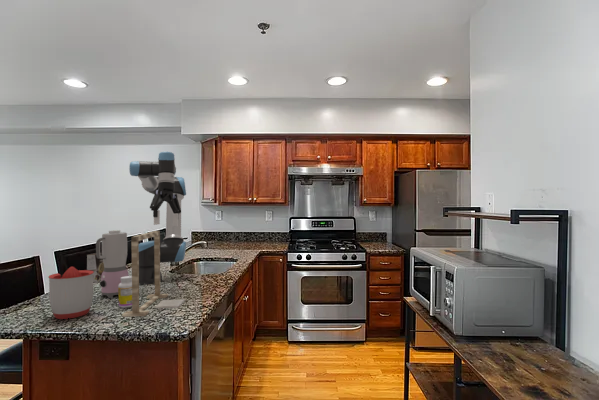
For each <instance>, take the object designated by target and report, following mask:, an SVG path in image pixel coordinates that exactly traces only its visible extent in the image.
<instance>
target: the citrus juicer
mask: <svg viewBox="0 0 599 400" xmlns="http://www.w3.org/2000/svg"><path fill="white" fill-rule="evenodd" d="M93 273H94V271H90V270H87V269H84V270H80V269H79V270H78V269H77V268H76V267H75V266H70V267H69V268H67V269H66V270H65V272H64V273H63V274H62V275H61V274H60V273H58V272H56V273H52V274H50V275H49V276H48V284H49V285H48V286H49V289H48V291H49V293H48V294H49V306H50V309H51V312H52V314H53V317H54V318H55V319H59V320H63V319H66V320H69V319H74V318H78V317H82V316H87V314H88V313H90V310H91V308H92V303H93V300H94V299H93V298H94V282H93ZM68 318H69V319H68Z"/></svg>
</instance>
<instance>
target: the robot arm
mask: <svg viewBox="0 0 599 400" xmlns="http://www.w3.org/2000/svg"><path fill="white" fill-rule="evenodd" d="M175 159H176V158H175V153H174V152H171V151H160V152H159V153H158V161H140V160H137V161H136V160H135V161H131V162H129V168H128V169H129V174H130V176H132V177H138V179H139V181H140V182H141V186H142V188H143V190H144V191H146V192H148V193H149V194H152V195H154V196H153V198H152V200H151V203H150V205H149V209H150V211H152V212H153V213H152V215H153V225H154V226H155V225H160V224H161V223H160V222H161V221H160V220H161V219H160V218H161V217H160V216H161V213H160V212H161V211H160V210H159V209H160V208H161V206H162V205H163V203H164V202H166V216H165V217H166V218H165V222H166V223H165V237H164V238H163V239H162V242H160V264H161V263H162V264H163V263H178V262H182V261H184V260H185V255H186V252H187V251H186V250H187V249H186V248H187V241H185V240H184V238H183V237H182V200H184V198H185V196H186V195H187V192H186V191H187V190H186V183H185V178H184V177H183V176H181V177H180V176H175V175H176V173H177V167H176V164H175ZM162 281H163V275H162V271H161V270H160V282H162ZM151 284H155V263H154V240H148V241H144V242H140V243H139V285H151Z"/></svg>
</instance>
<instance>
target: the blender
mask: <svg viewBox="0 0 599 400" xmlns="http://www.w3.org/2000/svg"><path fill="white" fill-rule="evenodd" d="M95 253H96V257H97V258H98V259H103V263H104V271H103V273H102V276H101V281H99V285H100V287H101V290H100V291H101V297H103V296H106V297H107V299H113V297H114V296H117V295H118V285H119V284H120V283H121V277H124V276H130V274H129V271H128V269H127V267H126V266H127V265H126V264H127V258H128V233H127V232H122V231H121V230H120V229H119V230H118V229H116V230H108V232H106V233H102V236H101V237H100V238H98V239H97V240H96V242H95ZM100 253H102V256H100Z"/></svg>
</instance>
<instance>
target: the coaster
mask: <svg viewBox="0 0 599 400" xmlns="http://www.w3.org/2000/svg"><path fill="white" fill-rule="evenodd" d="M184 302H186V299H185V298H181V299H178V298H177V299H176V298H175V299H163V300H161V301H160V302H159V303H157V304H156V305H155V306H154V307H155V309H173V308H174V309H175V308H176V309H177V308H181V306H182V305H183V303H184Z"/></svg>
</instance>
